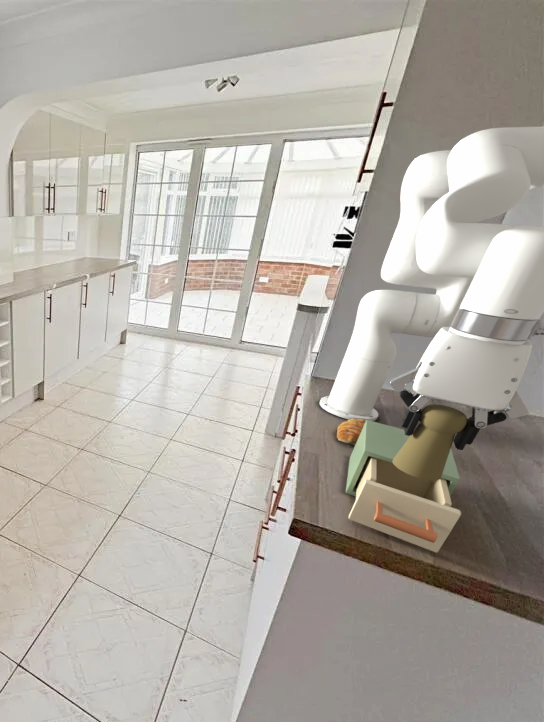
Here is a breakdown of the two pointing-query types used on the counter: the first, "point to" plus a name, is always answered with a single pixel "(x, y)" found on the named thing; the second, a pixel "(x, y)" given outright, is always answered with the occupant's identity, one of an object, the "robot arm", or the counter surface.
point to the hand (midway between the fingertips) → (432, 437)
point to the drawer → (403, 505)
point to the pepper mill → (430, 442)
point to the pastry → (350, 431)
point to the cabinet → (387, 453)
